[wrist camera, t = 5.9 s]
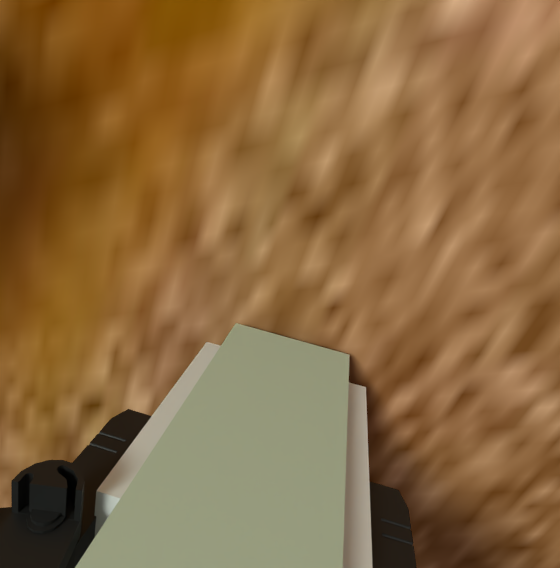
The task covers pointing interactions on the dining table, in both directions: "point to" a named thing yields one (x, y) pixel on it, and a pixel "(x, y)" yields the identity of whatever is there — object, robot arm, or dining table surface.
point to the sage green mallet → (242, 467)
